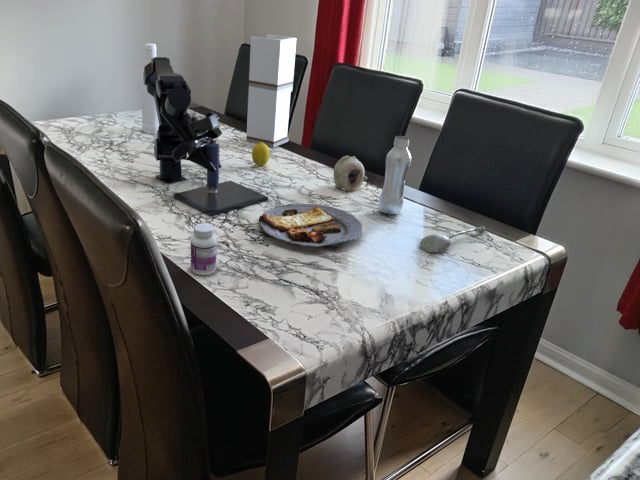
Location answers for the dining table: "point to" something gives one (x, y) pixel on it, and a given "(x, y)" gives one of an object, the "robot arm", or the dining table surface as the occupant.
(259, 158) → the lemon
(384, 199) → the plastic bottle
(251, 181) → the dining table surface
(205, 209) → the tablet
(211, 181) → the dark blue cylinder
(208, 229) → the pill bottle
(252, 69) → the white tower box
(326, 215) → the food plate
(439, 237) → the soupspoon
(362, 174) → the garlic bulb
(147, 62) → the bottle
